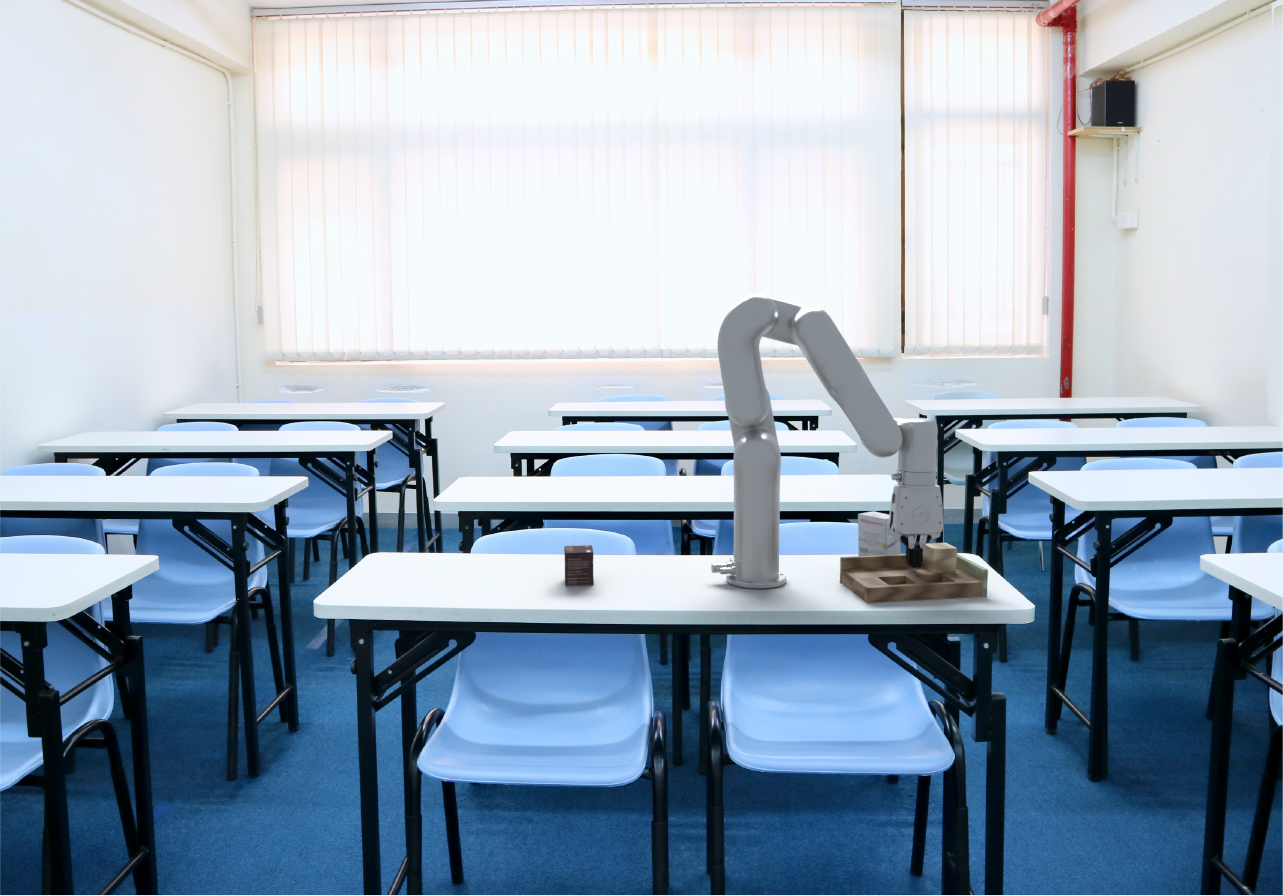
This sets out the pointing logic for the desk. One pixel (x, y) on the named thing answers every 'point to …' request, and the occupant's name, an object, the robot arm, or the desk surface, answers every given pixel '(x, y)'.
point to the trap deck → (909, 579)
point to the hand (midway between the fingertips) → (913, 565)
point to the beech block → (939, 557)
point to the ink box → (875, 535)
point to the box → (578, 565)
